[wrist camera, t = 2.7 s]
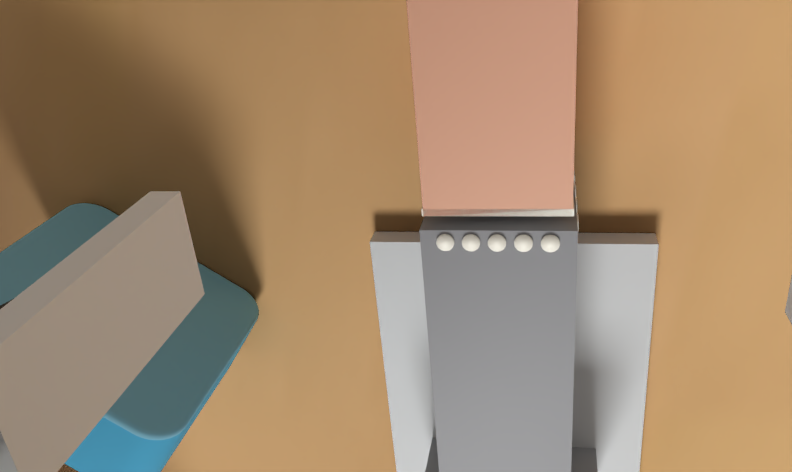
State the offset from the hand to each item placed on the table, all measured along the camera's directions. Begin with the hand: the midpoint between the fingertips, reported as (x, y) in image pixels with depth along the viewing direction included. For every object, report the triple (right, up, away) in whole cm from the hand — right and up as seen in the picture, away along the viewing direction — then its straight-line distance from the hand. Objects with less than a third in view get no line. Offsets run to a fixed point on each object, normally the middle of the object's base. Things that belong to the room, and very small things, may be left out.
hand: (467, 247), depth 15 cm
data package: (-15, -2, +26) cm, 30 cm away
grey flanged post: (+5, -7, +24) cm, 25 cm away
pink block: (+3, +8, +16) cm, 19 cm away
